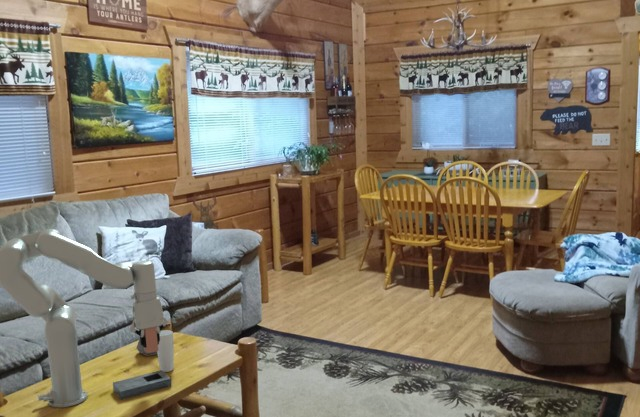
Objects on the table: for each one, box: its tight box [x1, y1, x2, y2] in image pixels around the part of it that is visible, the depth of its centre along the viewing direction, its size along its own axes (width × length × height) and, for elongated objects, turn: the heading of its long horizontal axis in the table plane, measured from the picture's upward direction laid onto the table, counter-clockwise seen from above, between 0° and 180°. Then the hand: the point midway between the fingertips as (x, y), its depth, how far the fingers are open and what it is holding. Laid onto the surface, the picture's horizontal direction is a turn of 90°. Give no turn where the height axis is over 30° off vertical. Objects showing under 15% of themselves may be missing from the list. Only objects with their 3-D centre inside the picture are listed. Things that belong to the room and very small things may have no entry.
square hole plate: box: [112, 369, 172, 401], centre depth 225 cm, size 18×10×3 cm, turn 123°
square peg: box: [144, 327, 158, 353], centre depth 225 cm, size 4×4×9 cm
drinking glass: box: [156, 329, 175, 373], centre depth 240 cm, size 7×7×15 cm
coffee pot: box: [136, 323, 171, 356], centre depth 257 cm, size 21×12×15 cm, turn 48°
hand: (150, 344), depth 225 cm, fingers closed on square peg, 4 cm apart
